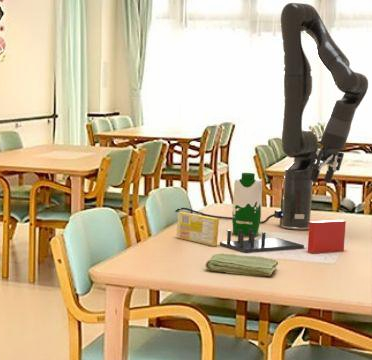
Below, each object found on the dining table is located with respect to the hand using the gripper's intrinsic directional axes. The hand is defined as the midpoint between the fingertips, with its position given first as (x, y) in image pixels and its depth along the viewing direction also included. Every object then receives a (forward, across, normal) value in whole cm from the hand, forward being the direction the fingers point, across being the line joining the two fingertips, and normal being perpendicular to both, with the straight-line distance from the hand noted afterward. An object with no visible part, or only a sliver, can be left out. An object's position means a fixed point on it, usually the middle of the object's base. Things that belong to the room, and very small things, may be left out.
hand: (320, 181), depth 298 cm
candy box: (+26, +40, -10) cm, 48 cm away
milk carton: (+23, +16, -10) cm, 29 cm away
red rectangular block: (+16, +20, +20) cm, 33 cm away
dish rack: (+21, +30, +5) cm, 37 cm away
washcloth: (+22, +62, +22) cm, 70 cm away
